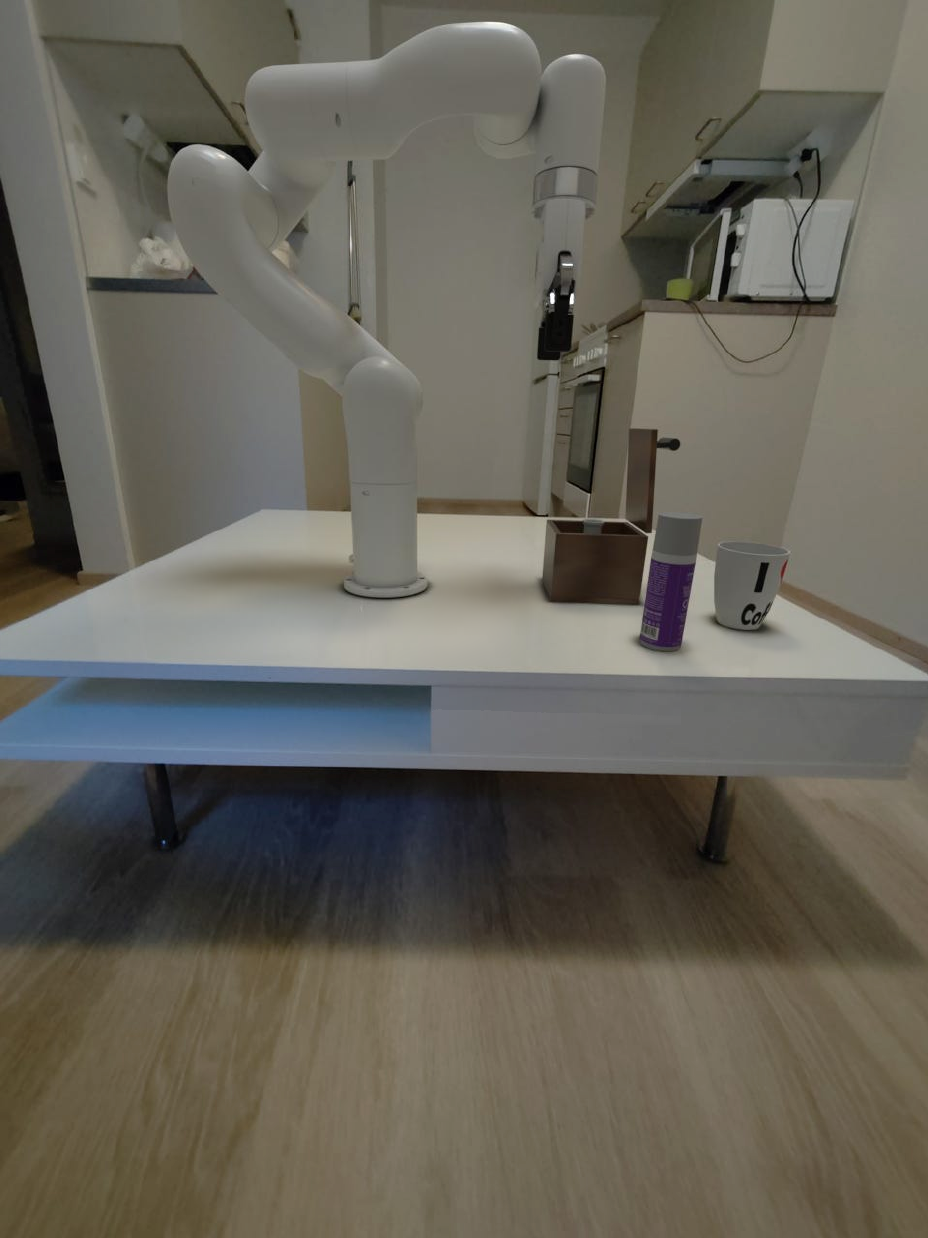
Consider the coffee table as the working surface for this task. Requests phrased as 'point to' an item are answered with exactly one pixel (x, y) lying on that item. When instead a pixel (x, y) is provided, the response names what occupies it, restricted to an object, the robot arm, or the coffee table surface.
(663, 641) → the container
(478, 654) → the coffee table surface
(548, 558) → the bin
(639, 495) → the bin lid
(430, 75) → the robot arm
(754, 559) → the cup
